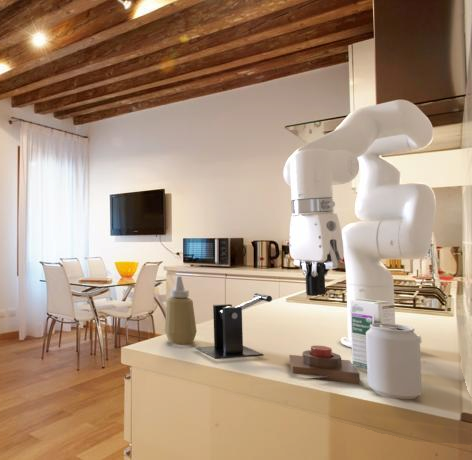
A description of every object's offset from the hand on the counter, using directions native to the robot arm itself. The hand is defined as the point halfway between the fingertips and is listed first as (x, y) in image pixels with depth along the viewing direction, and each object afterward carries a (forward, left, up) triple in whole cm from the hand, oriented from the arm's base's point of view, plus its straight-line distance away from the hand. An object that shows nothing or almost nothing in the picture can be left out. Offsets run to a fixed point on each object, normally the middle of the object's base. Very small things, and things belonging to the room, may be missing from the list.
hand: (315, 294), depth 88 cm
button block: (0, +3, -16) cm, 16 cm away
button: (0, +3, -12) cm, 13 cm away
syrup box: (-10, -4, -16) cm, 19 cm away
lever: (+14, -7, -5) cm, 16 cm away
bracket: (+18, -4, -16) cm, 24 cm away
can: (-10, +10, -16) cm, 22 cm away
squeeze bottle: (+30, -10, -16) cm, 35 cm away
